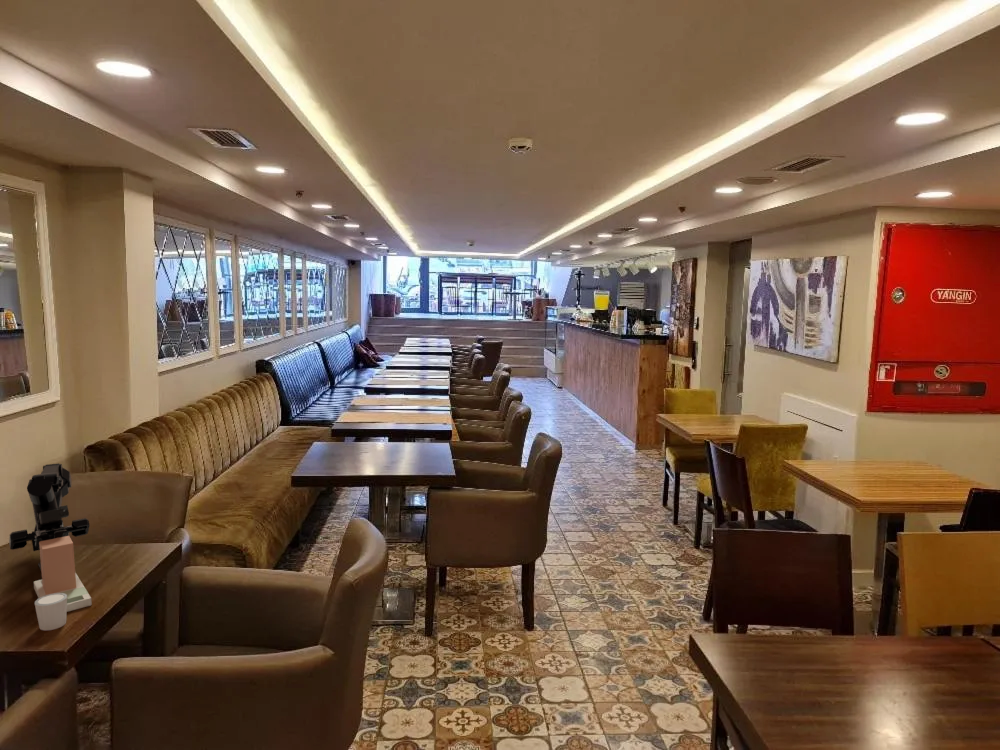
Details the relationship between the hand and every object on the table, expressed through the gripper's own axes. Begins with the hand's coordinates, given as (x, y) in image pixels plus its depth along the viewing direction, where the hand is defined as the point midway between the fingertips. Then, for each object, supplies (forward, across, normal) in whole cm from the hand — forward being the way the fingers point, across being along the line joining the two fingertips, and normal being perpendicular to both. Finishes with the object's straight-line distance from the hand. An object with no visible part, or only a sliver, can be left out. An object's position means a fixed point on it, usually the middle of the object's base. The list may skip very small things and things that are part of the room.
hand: (55, 559), depth 182 cm
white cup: (+22, -4, -10) cm, 25 cm away
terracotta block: (+7, 0, +2) cm, 8 cm away
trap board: (+10, 0, +2) cm, 11 cm away
